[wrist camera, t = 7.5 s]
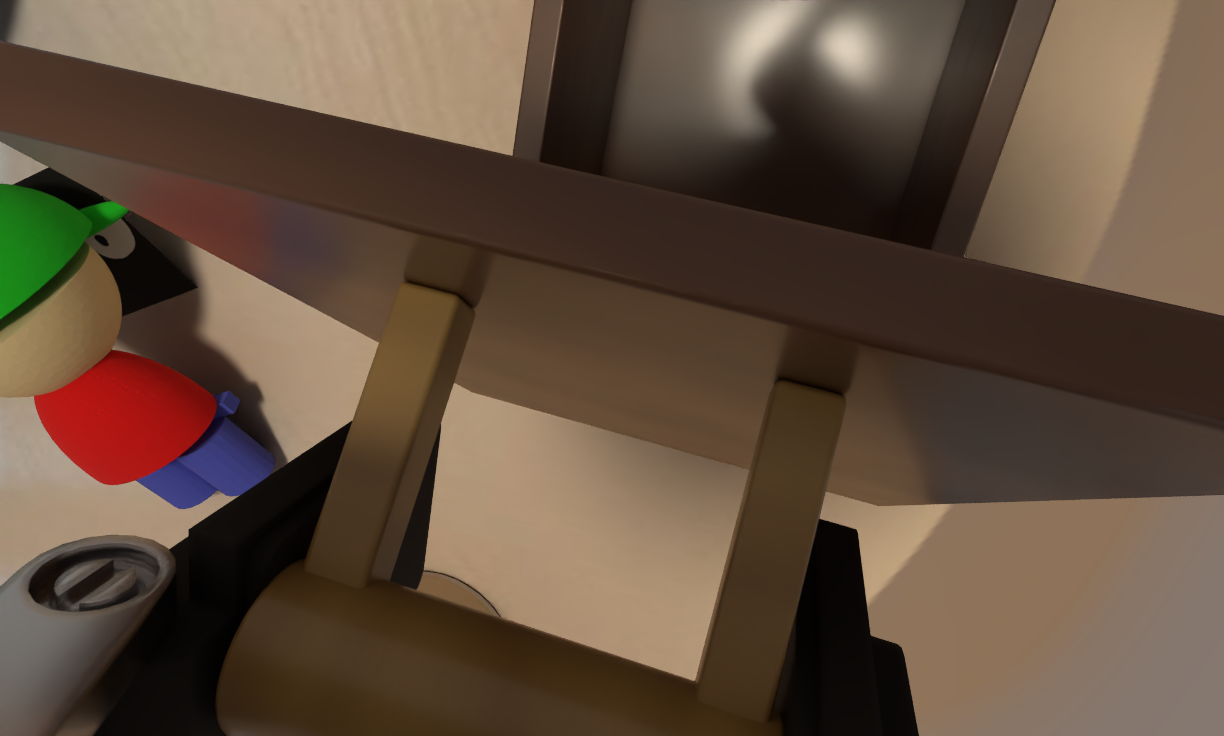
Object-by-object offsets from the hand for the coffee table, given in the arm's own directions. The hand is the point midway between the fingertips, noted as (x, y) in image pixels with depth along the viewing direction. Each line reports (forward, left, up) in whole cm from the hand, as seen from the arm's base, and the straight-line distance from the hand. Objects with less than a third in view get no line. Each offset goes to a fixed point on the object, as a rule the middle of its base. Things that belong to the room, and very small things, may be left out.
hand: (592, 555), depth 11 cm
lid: (-2, -1, -4) cm, 4 cm away
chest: (-4, -2, -18) cm, 19 cm away
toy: (+18, -17, -19) cm, 31 cm away
